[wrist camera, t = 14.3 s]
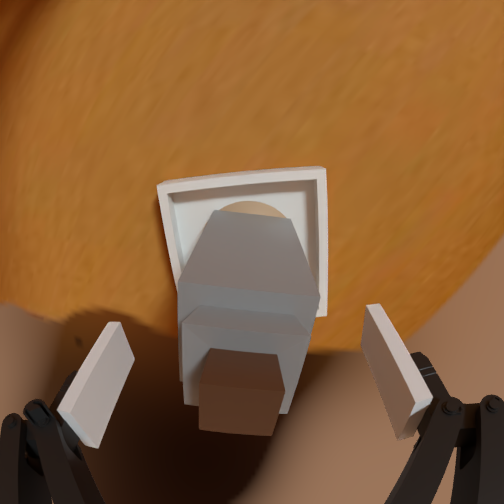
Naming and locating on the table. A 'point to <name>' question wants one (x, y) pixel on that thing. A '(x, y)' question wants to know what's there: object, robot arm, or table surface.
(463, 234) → the table surface
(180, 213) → the tray
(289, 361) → the perfume bottle
